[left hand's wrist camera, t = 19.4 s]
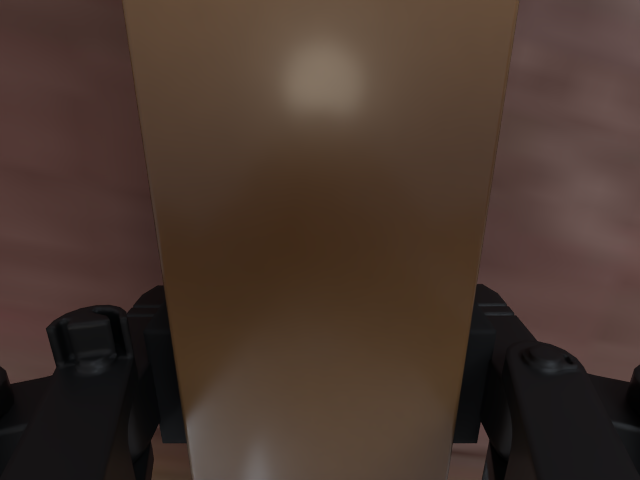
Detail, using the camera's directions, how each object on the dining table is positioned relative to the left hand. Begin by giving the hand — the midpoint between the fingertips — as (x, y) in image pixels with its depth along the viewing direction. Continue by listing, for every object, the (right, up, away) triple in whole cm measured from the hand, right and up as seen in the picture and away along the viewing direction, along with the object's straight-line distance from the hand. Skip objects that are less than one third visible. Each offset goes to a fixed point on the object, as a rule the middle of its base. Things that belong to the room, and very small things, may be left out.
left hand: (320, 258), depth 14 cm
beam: (0, +19, -6) cm, 20 cm away
